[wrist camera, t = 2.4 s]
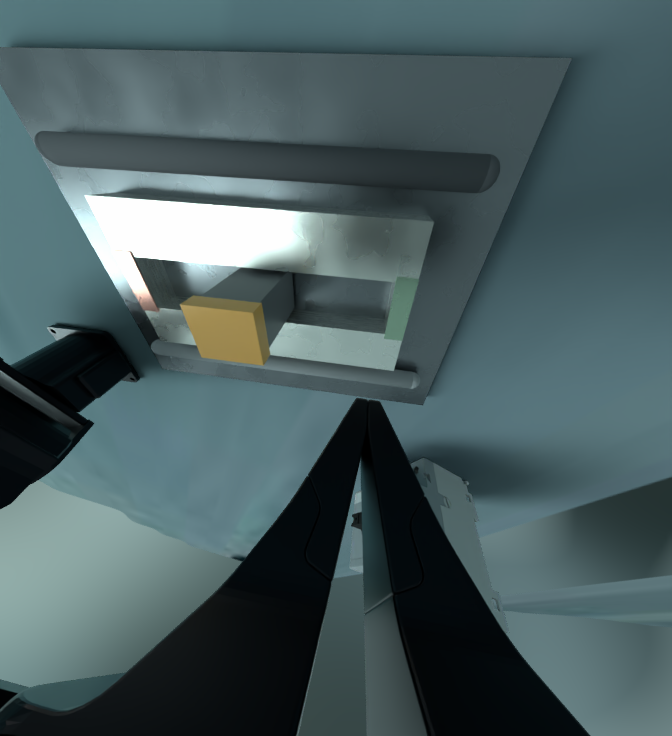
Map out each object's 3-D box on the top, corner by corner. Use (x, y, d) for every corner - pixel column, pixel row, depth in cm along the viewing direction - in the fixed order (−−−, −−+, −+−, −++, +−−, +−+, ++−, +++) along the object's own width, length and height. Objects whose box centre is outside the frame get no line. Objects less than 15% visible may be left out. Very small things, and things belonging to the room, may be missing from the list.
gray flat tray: (162, 348, 22) (151, 357, 21) (47, 131, 13) (18, 128, 12) (416, 381, 20) (418, 393, 19) (499, 155, 11) (512, 154, 10)
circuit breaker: (385, 436, 28) (387, 623, 16) (468, 481, 31) (517, 660, 20) (347, 458, 32) (329, 618, 21) (424, 496, 36) (444, 648, 24)
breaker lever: (252, 303, 17) (201, 357, 13) (243, 261, 15) (179, 304, 11) (297, 309, 17) (263, 365, 12) (294, 266, 15) (252, 312, 10)
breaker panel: (169, 362, 25) (147, 383, 23) (4, 54, 12) (-88, 26, 10) (421, 397, 23) (425, 423, 20) (557, 66, 10) (613, 33, 7)
